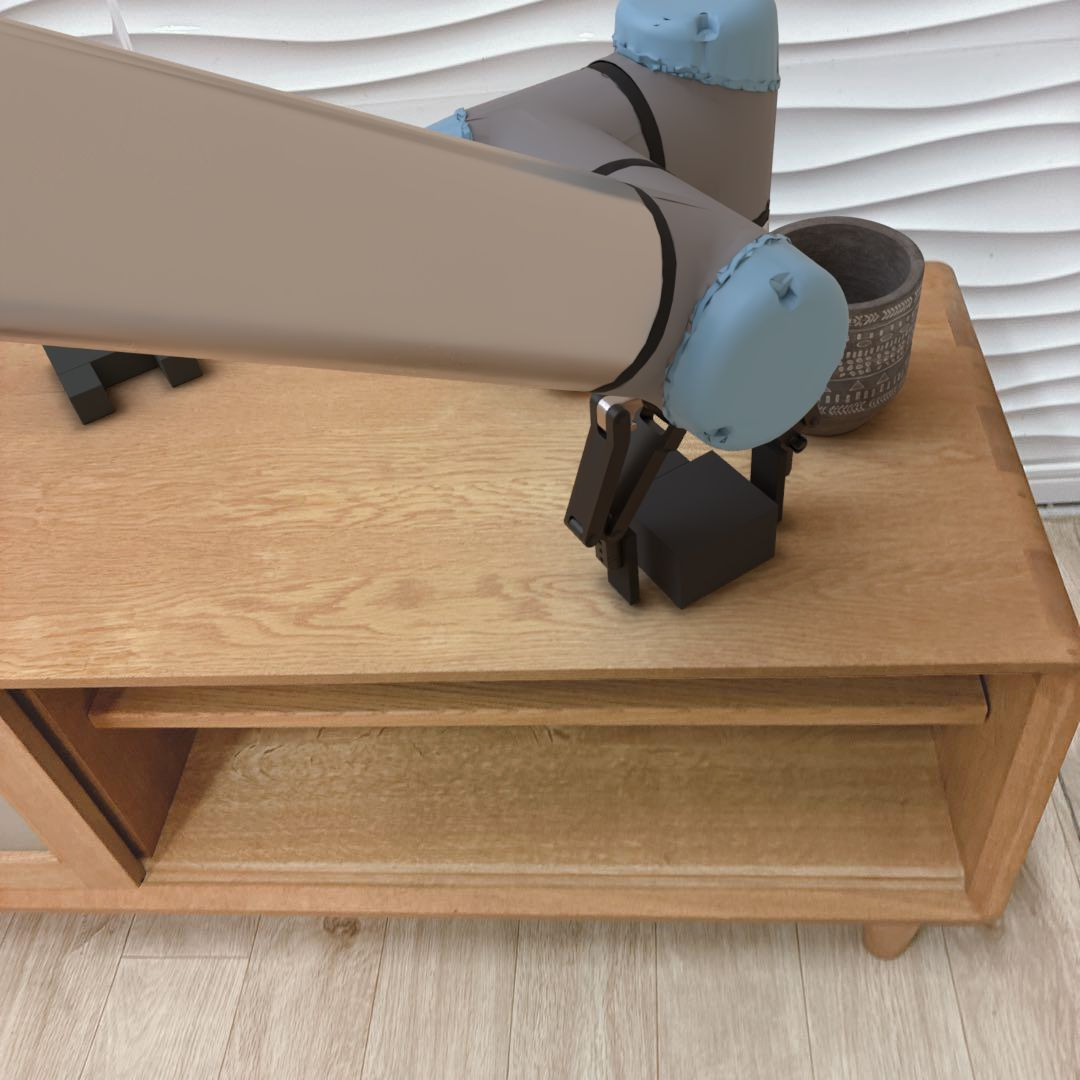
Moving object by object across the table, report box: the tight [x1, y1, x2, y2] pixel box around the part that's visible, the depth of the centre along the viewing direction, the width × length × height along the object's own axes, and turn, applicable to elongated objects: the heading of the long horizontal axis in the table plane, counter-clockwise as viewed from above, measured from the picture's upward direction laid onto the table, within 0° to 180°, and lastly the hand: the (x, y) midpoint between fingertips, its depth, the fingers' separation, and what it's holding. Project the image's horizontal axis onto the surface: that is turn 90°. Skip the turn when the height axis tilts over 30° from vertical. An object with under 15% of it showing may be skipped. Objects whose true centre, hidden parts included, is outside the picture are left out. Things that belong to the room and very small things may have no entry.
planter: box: [769, 215, 926, 437], centre depth 80 cm, size 12×12×13 cm
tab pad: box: [629, 449, 778, 610], centre depth 75 cm, size 8×11×5 cm
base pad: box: [41, 345, 204, 425], centre depth 96 cm, size 11×10×3 cm
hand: (696, 550), depth 75 cm, fingers open, 12 cm apart
